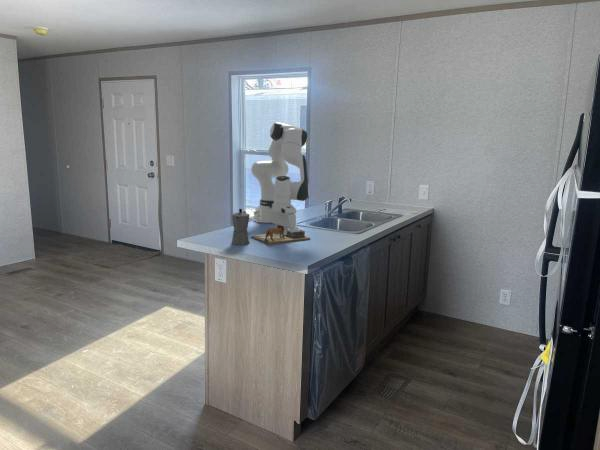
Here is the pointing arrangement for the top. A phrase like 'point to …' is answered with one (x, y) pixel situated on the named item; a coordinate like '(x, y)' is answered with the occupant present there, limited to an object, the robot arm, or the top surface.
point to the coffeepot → (240, 228)
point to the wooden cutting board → (288, 238)
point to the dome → (294, 229)
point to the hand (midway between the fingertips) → (281, 233)
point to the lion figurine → (275, 232)
